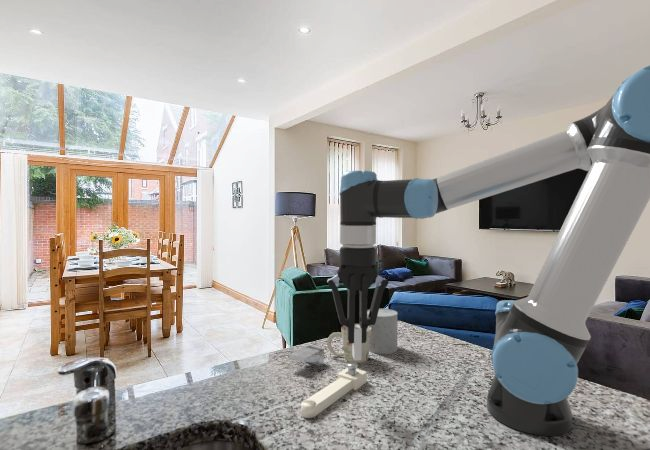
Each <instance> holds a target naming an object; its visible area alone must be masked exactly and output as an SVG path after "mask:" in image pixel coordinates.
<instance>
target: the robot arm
mask: <svg viewBox="0 0 650 450" xmlns="http://www.w3.org/2000/svg"><path fill="white" fill-rule="evenodd" d="M576 169H577V170H578V169H580V170H583V171H586V172H587V173H586V176H585V178H584V180H583V182H582V184H581V186H580V188H579V189H578V192H577V195H576V196H575V199H574V200H573V203H572V205H571V207H570V209H569V211H568V214H567V215H566V217H565V219H564V221H563V224H562V226H561V228H560V230H559V232H558V234H557V236H556V238H555V240H554V242H553V244H552V246H551V248H550V250H549V252H548V254H547V256H546V259H545V261H544V262H543V265H542V267H541V269H540V271H539V273H538V276H537V278H536V279H535V281H534V282H533V283H534V284H533V285H532V288H531V290H530V292H529V294H528V296H527V297H524V298H520V299H517V300H513V299H511V300H510V299H509V300H508V299H507V300H506V299H504V300H499V301H498V302H497V303H496V307H495V308H496V310H495V312H494V314H495V323H496V324H495V336H494V342H493V347H492V349H491V350H492V351H491V357H490V359H491V364H492V367H493V371H494V376H493V379H492V381H491V384H490V387H489V390H488V392H487V395H486V409H487V411H488V413H489V414H490V415H491V416H492V418H494V419H495V420H497V421H498V422H499V423H501V424H503V425H505V426H507V427H509V428H511V429H514V430H517V431H519V432H522V433H527V434H530V435H537V436H545V437H546V436H551V437H553V436H554V437H555V436H561V435H564V434H567V433H569V432H570V431H571V430H572V428H573V413H572V410H571V409H572V408H571V406H570V404H569V400H568V397H569V396H570V395H571V394H572V393H573V391H574V390H575V388H576V386H577V382H578V378H579V367H578V363H579V361H580V359H581V357H582V355H583V353H584V352H585V349H586V348H587V345H588V343H589V342H590V340H591V339H592V336H591V333H590V332H589V329H588V328H587V325H586V322H587V319H588V318H589V316H590V314H591V312H592V310H593V308H594V306H595V304H596V302H597V301H598V298H599V297H600V295H601V293H602V291H603V289H604V287H605V285H606V283H607V281H608V279H609V277H610V275H611V274H612V272H613V270H614V267H615V266H616V264H617V262H618V260H619V258H620V256H621V254H622V253H623V251H624V248H625V247H626V245H627V244H628V243H627V242H628V241H629V239H630V237H631V235H632V234H633V231H634V229H635V228H636V225H637V224H638V222H639V220H640V218H641V216H642V214H643V213H644V210H645V209H646V207H647V205H648V203H649V201H650V65H648V66H645V67H643V68H641V69H639V70H638V71H636V72H635V73H633V74H632V75H630V76H629V77H627V78H626V79H625V80H623V81H622V82H621V84H620V85H619V86H618V87H617V88H616V90H615V93H614V94H613V95H612V96H611V97H610V98H609V100H608V101H607V102H606V104H604V105H603V106H602V107H601V108H599V109H598V110H597V111H595V112H593V113H591V114H590V115H587V116H585V117H584V118H581V119H579V120H575V121H572V122H571V123H569V124H568V126H567V127H566V129H565V130H563V131H562V132H561V131H560V132H558V133H556V134H553V135H550V136H548V137H545V138H542V139H539V140H536V141H533V142H531V143H528V144H526V145H523V146H519V147H518V148H514V149H511V150H510V151H507V152H504V153H501V154H498V155H496V156H493V157H490V158H486V159H484V160H482V161H479V162H476V163H474V164H473V163H472V164H471V165H468V166H465V167H462V168H460V169H457V170H454V171H452V172H448V173H446V174H444V175H440V176H438V177H436V178H432V179H431V178H419V177H418V178H412V179H411V178H409V179H394V180H381V179H380V180H378V178H377V173H376V172H375V171H372V170H349V171H346V172H343V174H342V175H341V177H340V188H339V189H340V191H339V201H340V203H339V204H340V205H339V206H340V207H339V212H340V213H339V214H340V215H339V216H340V217H339V219H340V222H339V244H340V245H342V246H340V248H339V267H338V270H337V272H336V275H334V276H332V277H330V278H327V280H326V282H327V284H328V286H329V288H330V289H331V291H332V296H333V300H334V305H335V309H336V312H337V313H336V314H337V319H338V322H339V324H340V325H341V327H342V326H346V327H348V341H349V343H352V356H353V359H354V360H361V348H362V343H366V338H367V328H368V326H370V325H375V323H376V319H377V315H378V311H379V308H380V307H381V304H382V303H381V302H382V299H383V295H384V291H385V289H386V288H387V287H388V285H389V280H388V279H386V278H385V277H382V276H381V275H379V272H378V270H377V266H376V265H377V257H376V255H377V248H376V247H375V245H376V244H377V218H379V219H381V218H382V219H383V218H392V219H396V218H397V219H416V220H417V219H418V220H419V219H420V220H422V219H423V220H424V219H428V218H433V217H434V216H435V215H436V214H439V213H444V212H445V211H448V210H450V209H451V210H452V209H453V208H458V207H461V206H464V205H467V204H470V203H473V202H476V201H479V200H483V199H486V198H488V197H492V196H495V195H498V194H501V193H504V192H507V191H508V192H509V191H511V190H514V189H516V188H517V189H518V188H521V187H523V186H527V185H529V184H533V183H536V182H539V181H543V180H545V179H548V178H551V177H555V176H558V175H561V174H564V173H567V172H570V171H574V170H576ZM339 281H340V282H341V283H342V284H343V286H344V287H345V288H346V292H347V306H346V307H347V310H346V311H347V315H346V316H347V318H346V316H345V313H344V308H343V303H342V299H341V298H342V297H341V295H340V291H339V288H338V287H339V286H340V282H339ZM374 282H375V288H374V292H373V295H372V300H371V304H370V308H369V309H370V312H369V316H368V318H367V310H368V296H369V289H370V288H371V286H372V285H373V283H374ZM356 291H359V292H358V293H359V304H358V305H359V307H358V308H359V314H358V315H359V317H358V319H359V323H358V324H360V325H355V324H356V323H355V321H356Z"/></svg>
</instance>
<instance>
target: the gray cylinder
mask: <svg viewBox="0 0 650 450" xmlns="http://www.w3.org/2000/svg"><path fill="white" fill-rule="evenodd" d="M369 312H370V308H369V309H367V318H368V316H369ZM398 315H399V313H398V311H396V310H393V309H390V308H380V307H379V311H378V315H377V319H376V323H375V325H370V327H371V338H370V347H369V353H372V354H377V355H390V354H394V353H396V352H398Z"/></svg>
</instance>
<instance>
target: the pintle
mask: <svg viewBox="0 0 650 450" xmlns="http://www.w3.org/2000/svg"><path fill="white" fill-rule="evenodd" d="M358 365H359V363H355V362H347V363H346V368H348V375H352V376H355V375H356V369H359V368H358Z"/></svg>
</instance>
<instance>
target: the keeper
mask: <svg viewBox="0 0 650 450" xmlns="http://www.w3.org/2000/svg"><path fill="white" fill-rule="evenodd" d="M288 359H290V360H294V361H297V362H301V363H307V364H312V365H315V366H318V367H320V366H322V365H323V364H325V348H322V347H320V346H319V347H318V346H314V345H311V344H309V345H306V346H304V347H302V348H300V349H298V350H296V351H293V352H291V353H289V354H288Z"/></svg>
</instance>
